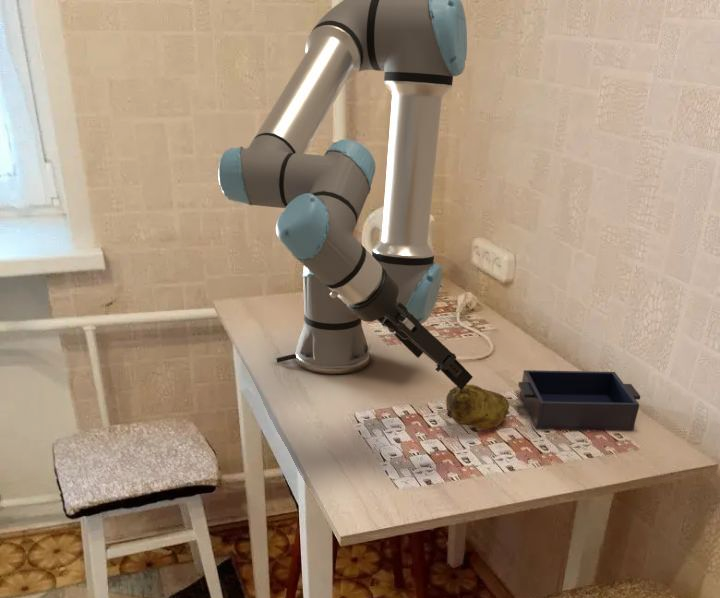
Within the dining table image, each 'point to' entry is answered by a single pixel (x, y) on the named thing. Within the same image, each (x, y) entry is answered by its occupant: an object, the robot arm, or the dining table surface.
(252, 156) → the robot arm
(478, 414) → the potato
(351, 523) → the dining table surface
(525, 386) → the pan handles
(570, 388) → the roasting pan
